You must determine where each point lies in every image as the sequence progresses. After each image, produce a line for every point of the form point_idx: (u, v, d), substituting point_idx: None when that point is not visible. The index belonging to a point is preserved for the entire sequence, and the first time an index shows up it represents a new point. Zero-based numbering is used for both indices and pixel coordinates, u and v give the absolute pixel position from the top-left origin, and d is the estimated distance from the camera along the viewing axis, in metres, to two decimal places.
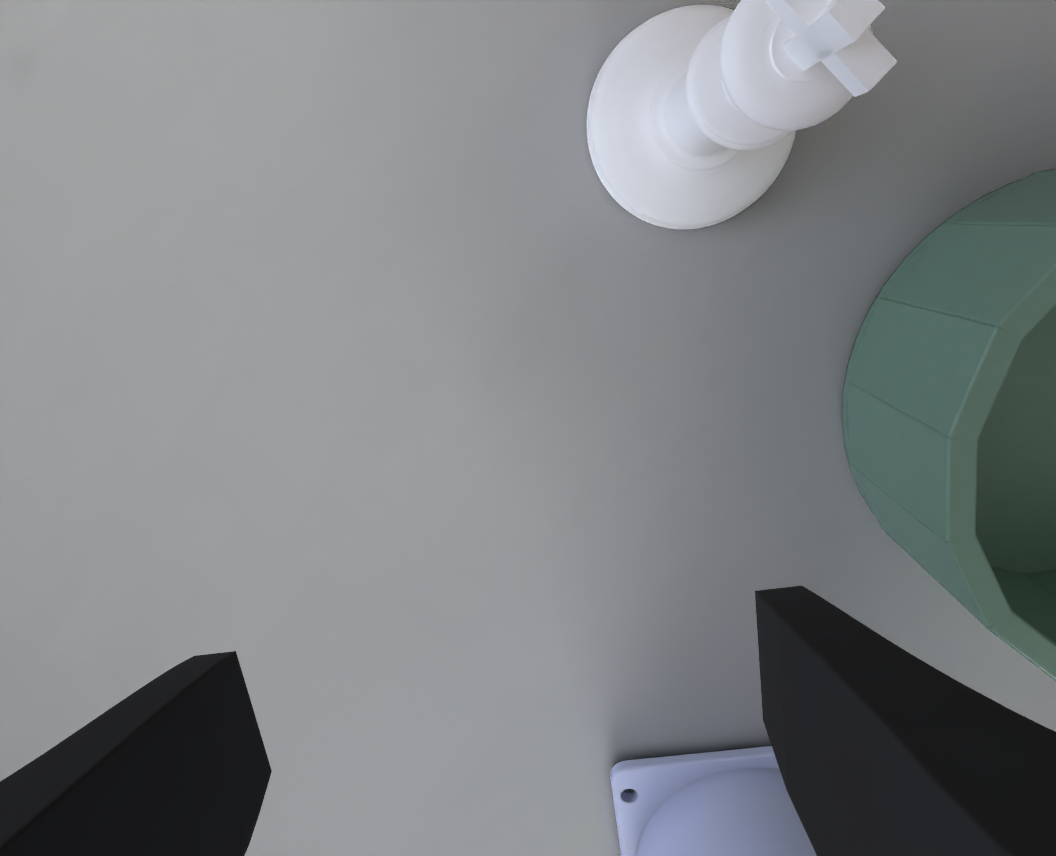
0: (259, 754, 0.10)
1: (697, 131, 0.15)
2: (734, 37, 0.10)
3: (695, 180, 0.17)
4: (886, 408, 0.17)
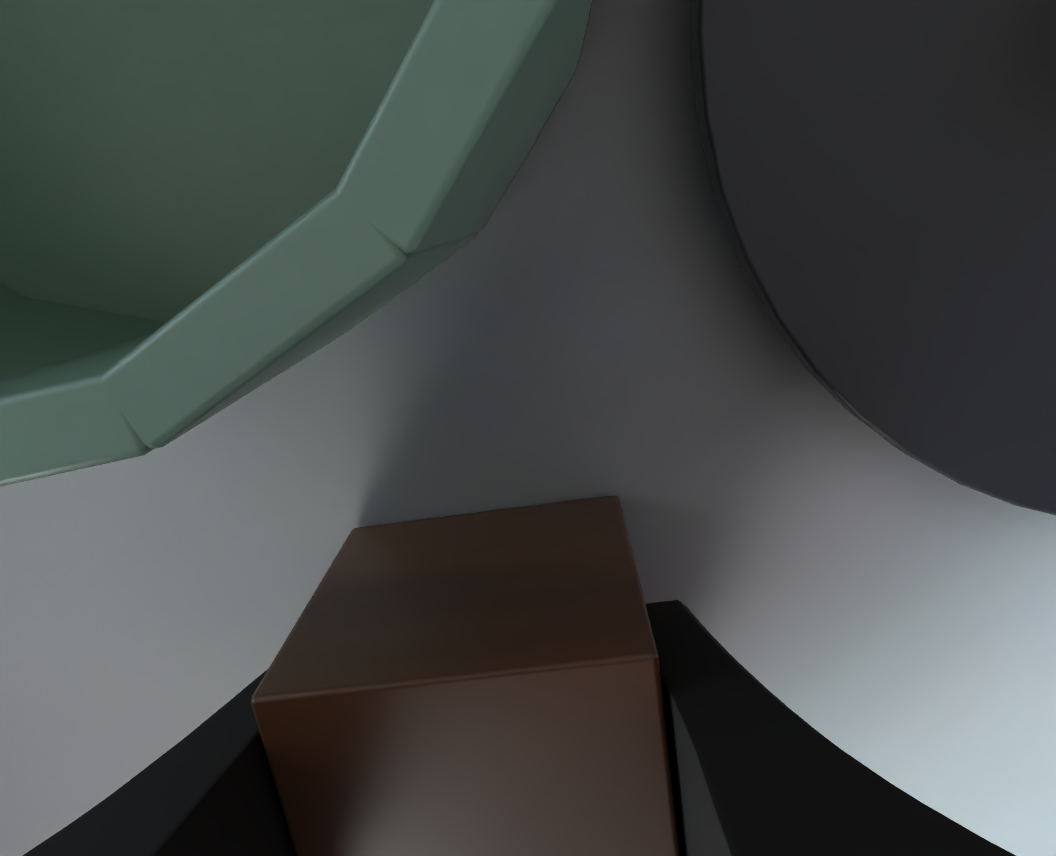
0: None
1: None
2: None
3: None
4: None
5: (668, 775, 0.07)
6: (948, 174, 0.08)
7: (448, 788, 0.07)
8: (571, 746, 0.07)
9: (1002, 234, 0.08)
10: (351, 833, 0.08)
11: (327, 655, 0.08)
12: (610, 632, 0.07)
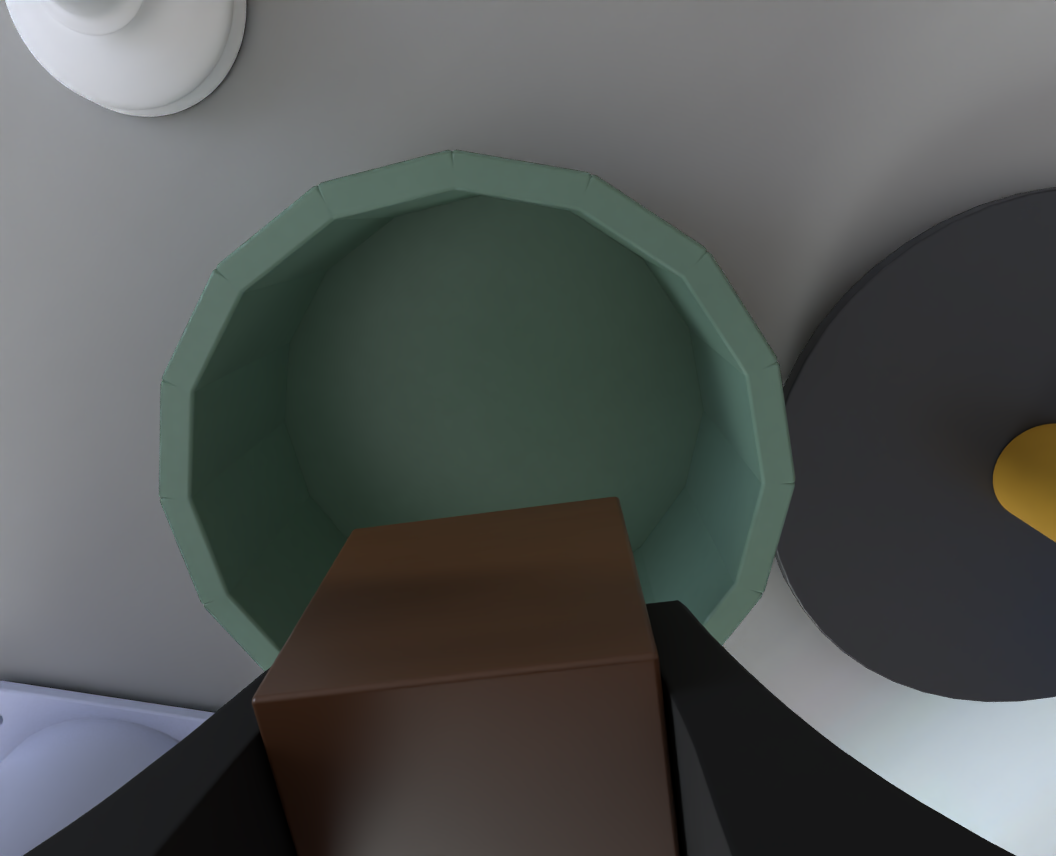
0: None
1: None
2: None
3: (94, 49, 0.15)
4: None
5: (669, 775, 0.07)
6: (883, 550, 0.18)
7: (449, 789, 0.07)
8: (572, 747, 0.07)
9: (909, 575, 0.18)
10: (352, 833, 0.08)
11: (328, 656, 0.08)
12: (610, 633, 0.07)
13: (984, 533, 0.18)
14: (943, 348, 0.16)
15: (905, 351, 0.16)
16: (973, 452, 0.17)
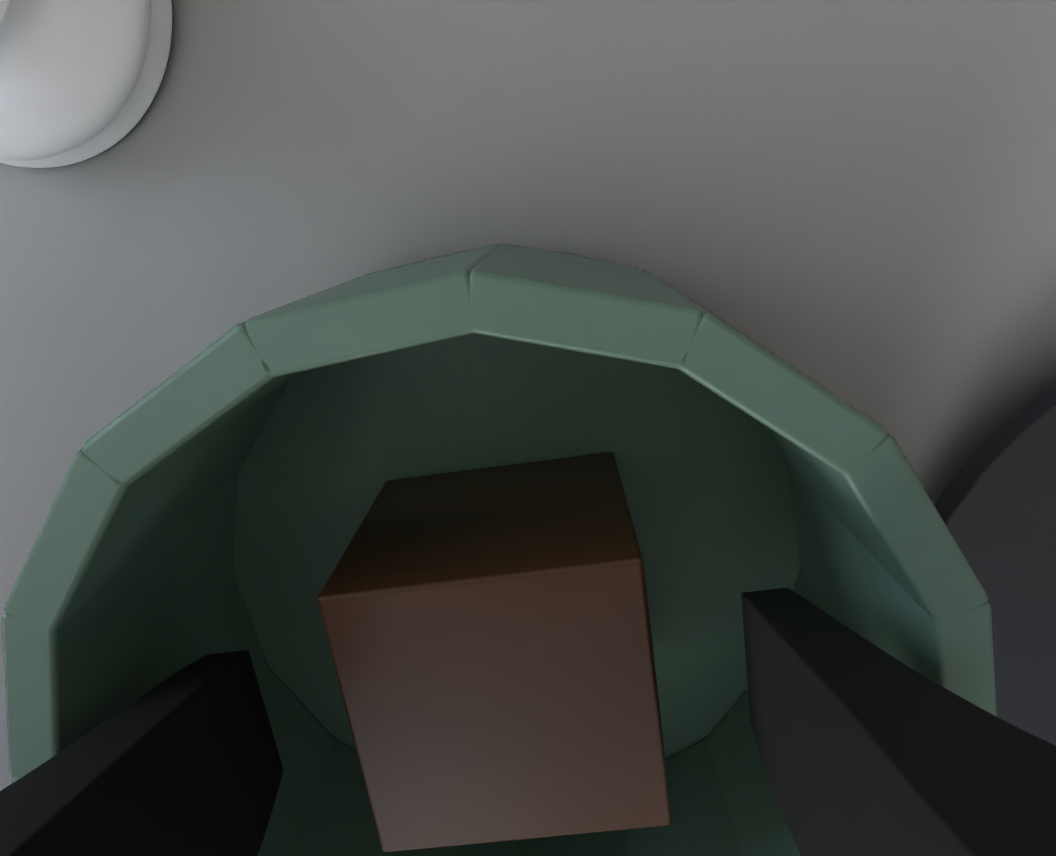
0: (271, 753, 0.10)
1: None
2: None
3: None
4: None
5: (652, 660, 0.09)
6: None
7: (475, 672, 0.09)
8: (574, 637, 0.09)
9: None
10: (396, 711, 0.09)
11: (375, 568, 0.09)
12: (605, 547, 0.09)
13: None
14: None
15: None
16: None
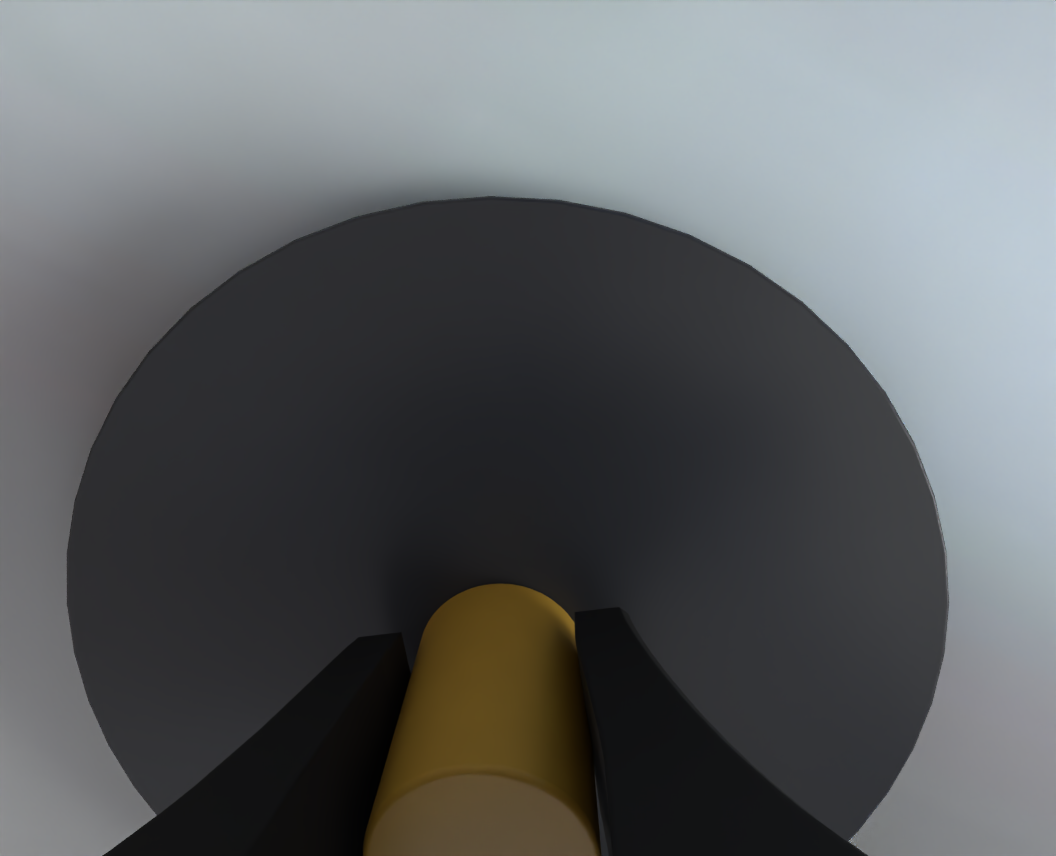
0: None
1: None
2: None
3: None
4: None
5: None
6: None
7: None
8: None
9: None
10: None
11: None
12: None
13: None
14: None
15: None
16: None
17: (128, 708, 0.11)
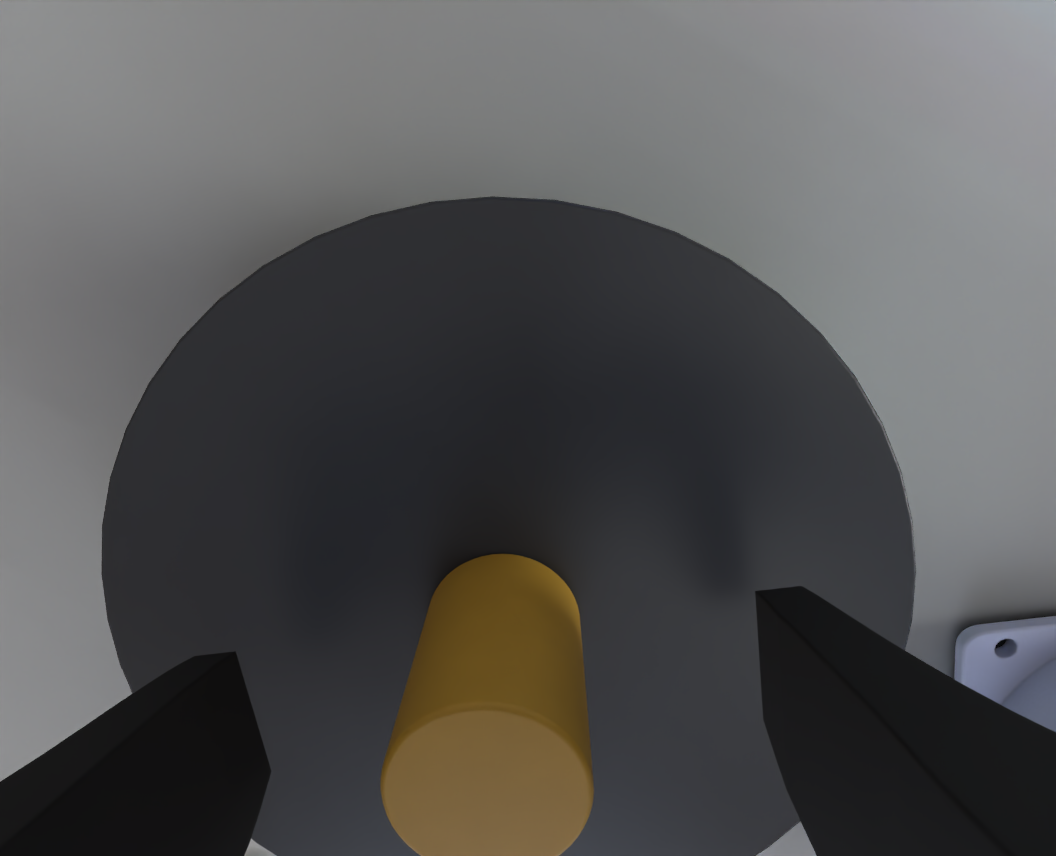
0: (259, 754, 0.10)
1: None
2: None
3: None
4: None
5: None
6: (685, 761, 0.12)
7: None
8: None
9: (713, 716, 0.12)
10: None
11: None
12: None
13: (620, 652, 0.12)
14: None
15: None
16: None
17: (157, 672, 0.12)
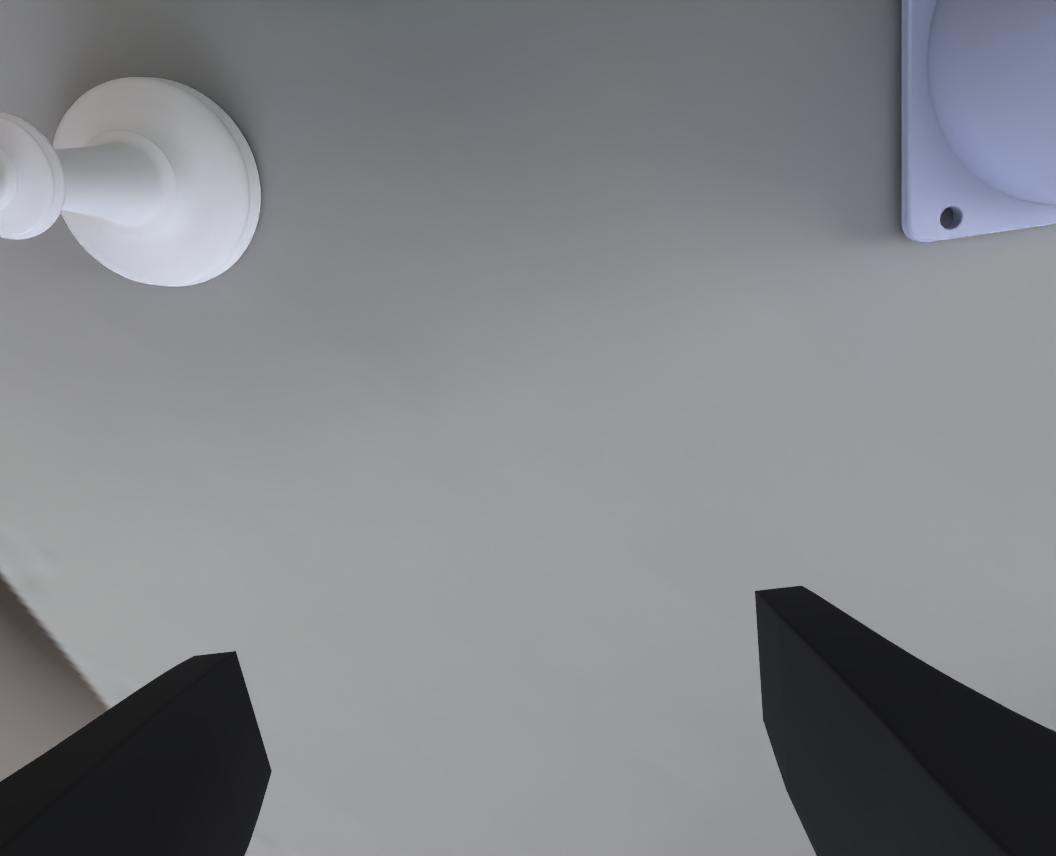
0: (259, 754, 0.10)
1: (110, 201, 0.15)
2: None
3: (196, 183, 0.17)
4: None
5: None
6: None
7: None
8: None
9: None
10: None
11: None
12: None
13: None
14: None
15: None
16: None
17: None
